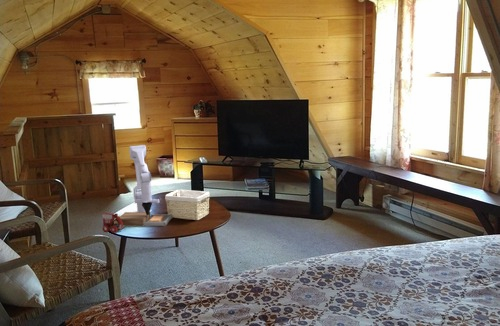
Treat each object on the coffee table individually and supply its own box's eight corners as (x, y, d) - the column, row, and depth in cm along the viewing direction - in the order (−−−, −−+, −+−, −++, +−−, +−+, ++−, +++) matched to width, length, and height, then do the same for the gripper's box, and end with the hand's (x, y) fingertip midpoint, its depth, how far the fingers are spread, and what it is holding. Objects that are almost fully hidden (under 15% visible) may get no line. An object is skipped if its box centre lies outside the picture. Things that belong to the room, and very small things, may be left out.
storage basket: (165, 217, 269) (163, 194, 266) (179, 210, 283) (178, 188, 280) (198, 221, 259) (197, 198, 256) (211, 213, 273) (210, 191, 271)
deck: (125, 218, 270) (125, 212, 269) (150, 218, 268) (150, 212, 267) (117, 226, 256) (116, 219, 255) (143, 225, 255) (142, 219, 254)
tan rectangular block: (163, 215, 264) (163, 218, 265) (153, 215, 265) (154, 218, 265) (159, 220, 255) (159, 223, 256) (149, 220, 256) (149, 223, 256)
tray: (151, 218, 269) (151, 214, 268) (172, 218, 267) (171, 214, 267) (143, 226, 254) (143, 222, 254) (165, 226, 253) (165, 222, 252)
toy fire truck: (119, 233, 243) (117, 215, 241) (100, 232, 246) (98, 214, 244) (126, 229, 250) (124, 212, 248) (107, 228, 253) (105, 211, 251)
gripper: (132, 194, 254) (134, 216, 257) (156, 194, 253) (157, 216, 256) (136, 191, 261) (138, 212, 264) (159, 191, 260) (161, 212, 263)
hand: (148, 214), depth 260 cm, fingers closed
